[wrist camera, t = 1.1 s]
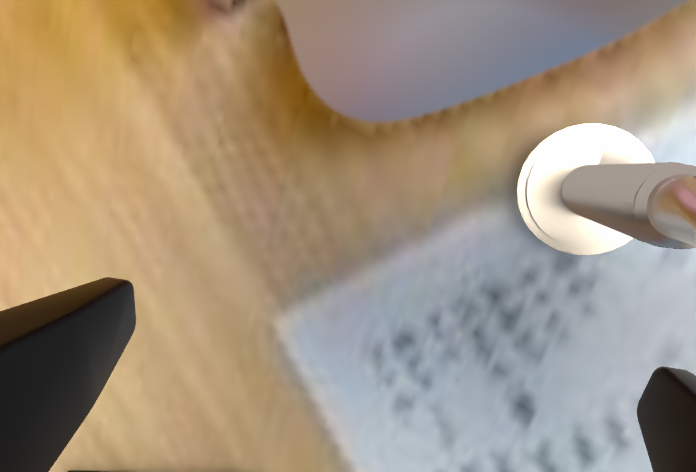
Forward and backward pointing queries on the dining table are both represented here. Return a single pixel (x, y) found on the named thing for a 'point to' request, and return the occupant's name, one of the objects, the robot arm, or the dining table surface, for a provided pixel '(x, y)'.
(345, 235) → the dining table surface
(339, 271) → the dining table surface
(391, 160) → the dining table surface
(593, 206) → the screw
